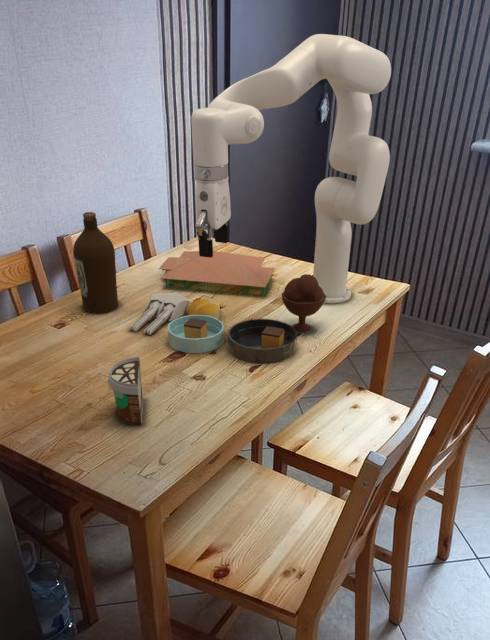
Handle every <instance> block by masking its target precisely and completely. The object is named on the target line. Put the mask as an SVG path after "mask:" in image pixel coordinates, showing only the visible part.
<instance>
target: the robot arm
mask: <svg viewBox="0 0 490 640" xmlns="http://www.w3.org/2000/svg"><path fill="white" fill-rule="evenodd" d="M391 77H392V64H391V61H390V59H389V57H388V56H387V55H386V54H385V53H384V52H383V51H380V49H379V50H378V49H377V48H374V47H372V46H370V45H368V44H366V43H363V42H361V41H359V40H357V39H356V38H352V37H350V36H347V35H341V34H339V35H337V34H327V33H317V34H312V35H311V36H309V37H307V38H305V40H303V41H301V43H299V45H297V46H296V47H295V48H294V49H292V50H291V51H289V53H288V54H286V55H285V56H283V57H282V58H281V59H280V60H279V61H277V62H276V63H275V64H274V65H272V66H271V67H269V68H265V69H263V70H261V71H259V72H257V73H255V74H252V75H250V76H248V77H245V78H242V79H240V80H239V81H236V82H235V83H233V84H231V85H230V86H229V87H227V88H226V89H224V90H223V91H221V93H219V94H218V95H217V96H216V97H214V98H213V100H212V101H211V102H210V103H209V105H208V106H207V107H200V108H198V109H195V110H194V111H193V112H192V113H191V118H190V121H191V141H192V143H191V144H192V157H193V159H192V160H193V178H194V179H193V180H194V181H195V182H196V187H195V188H196V189H195V208H196V209H195V215H196V223H195V230H196V235H197V240H198V251H199V255H200V256H201V257H210V258H211V257H213V251H214V244H213V243H214V242H215V243H220V244H227V243H229V226H228V225H229V220H231V217H232V208H231V207H232V206H231V191H230V182H229V177H230V175H229V145H247V144H251V143H253V142H256V141H257V140H258V139H259V138H260V137H261V135H262V134H263V131H264V127H265V120H264V116H263V114H262V113H261V111H262V110H267V109H277V108H281V107H285V106H289V105H291V104H294V103H295V102H296V101H297V100H298V99H300V98H301V97H303V95H305V94H306V93H307V92H308V91H309V90H311V89H312V88H313V87H314V86H315V85H317V84H318V83H320V81H322V80H327V82H328V83H329V85H330V87H331V88H332V91H333V92H334V95H335V99H336V103H337V104H336V106H337V111H336V118H335V124H334V129H333V133H332V139H331V143H330V150H329V156H328V161H329V162H328V163H329V165H330V167H331V168H332V169H333V170H335V171H338V172H341V173H344V174H348V175H351V176H355V177H356V181H354V180H352V179H351V180H350V179H348V178H344V177H339V176H330V177H329V176H328V177H326V178H324V179H322V180H321V181H320V182H319V183H318V184H317V186H316V189H315V192H314V208H315V216H316V231H315V243H314V256H313V257H314V259H313V273H312V276H314V277H315V278H316V279H317V281H318V284H319V286H320V287H321V288H322V290H323V292H324V294H325V295H326V299H325V302H324V304H341V303H344V302H347V301H349V300H350V299H351V297H352V290H351V289H350V288H349V287H347V285H348V275H349V266H350V265H349V264H350V255H351V246H352V236H353V233H352V232H353V230H352V225H351V223H352V224H355V225H360V226H361V225H367V224H368V223H370V222H371V221H372V220H373V219H375V216H376V214H377V212H378V209H379V206H380V203H381V200H382V197H383V196H382V195H383V193H384V187H385V183H386V180H387V176H388V172H389V166H390V159H391V153H390V148H389V145H388V143H387V142H386V141H385V140H384V139H382V138H380V137H377V136H373V135H370V128H371V123H372V116H373V104H372V100H371V96H370V95H376V94H379V93H380V92H382V91H383V90H385V89H386V87H387V86H388V84H389V82H390V80H391ZM213 230H214V242H213V238H212V235H213Z"/></svg>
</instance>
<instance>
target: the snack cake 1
mask: <svg viewBox="0 0 490 640" xmlns="http://www.w3.org/2000/svg"><path fill="white" fill-rule="evenodd" d="M205 337H207V321H205V320H199V319H193V318H190V319H189V320H188V321H187V322H186V323H185V324H184V338H194V339H197V338H205Z"/></svg>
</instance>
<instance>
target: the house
mask: <svg viewBox="0 0 490 640" xmlns="http://www.w3.org/2000/svg"><path fill="white" fill-rule="evenodd" d="M265 259H266V257H263V256H254V255H247V254H239V253H231V252H226V251H225V252H223V251H215V250H213V257H211V258H210V257H201V256H200V255H199V250H192V251H191V250H189V251H188V250H186V251H183V252H182V253H181V255H180V256H177V257H173V256H171V257H170V256H169V257H167V258H166V260H164V262H163V263H162V264H161V265H160V267H159V268H158V270H162V271H165V273H164V275H163V276H162V277H161V279H162V280H165V289H172V290H174V288H176V290H179V288H178V287H176V285H181V287H182V288H180V290H181V291H190V289H189V286H193V287H195V286H196V287H195V288H196V290H195V289H191V291H193V292H198V290H197V287H204V290H202V292H204V293H205V292H206V293H209V291H208V290H207V291H205V290H206V288H205V287H206V284H215V285H208V287H209V288H214V290H215V291H213V293H214V294H219V291H217V289H216V288H217V286H216V285H226V286H221V289H222V288H223V289H226V292H224V294H226V295H230V292H228V293H227V289H228V286H227V285H229V286H236V287H237V288H236V287H233V290H237V291H236V293H237V294H236V293H235V295H237V296H241V294H242V296H245V295H246V296H251V297H252V294H251V295H250V292H251V289H254V288H255V289H254V292H261V288H262V295H260V296H259V295H258V297H259V298H263V297H265V294H266V292H267V290H268V288H269V286H270V284H271V282H272V276H273V274H274V271H275V267H267V266H262V265H263V263H264V261H265ZM175 282H176V283H175ZM172 283H173V284H174V287H170V285H171V284H172ZM195 283H203V284H204V285H203V284H197V285H195ZM183 285H184V286H183ZM256 289H257V290H256ZM216 291H217V292H216ZM239 291H240V292H239ZM247 291H248V292H249V293H248V294H245V293H247ZM238 293H239V294H238Z"/></svg>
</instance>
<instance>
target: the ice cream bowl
mask: <svg viewBox="0 0 490 640" xmlns="http://www.w3.org/2000/svg"><path fill="white" fill-rule="evenodd" d="M280 294H281V295H280V296H281V300H282V303H283V305H284V306H285V308H286V310H287V311H288V312H289V313H290V314H292V315H294V316H297V317H298V321H297V322H298V323H295V324H293V325H291V326H292V327H293V328H294V329H295V330H296V332H297V334H298V333H299V334H305V333H309V332H311V331H312V330H313V328H312V326H311V325H310V324H308V323H306V320H307V319H306V318H307V317H310V316H312V315H315V314H316V313H317V312H319V310H320V309H321V308H322V307H323V306H324V304H325V303H324V302H325V299H326V295H325V294H324V292H323V290H322V288H321V287H320V286H319V284H318V281H317V279H316V278H315V277H314V276H313V274H310V273H307V274H306V273H305V274H302V275H300V276H299V277H296V278H292V279H291V280H290V281H289V282H288V283H287V284H286V285H285V287H284V290H283V292H282V293H280Z"/></svg>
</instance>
